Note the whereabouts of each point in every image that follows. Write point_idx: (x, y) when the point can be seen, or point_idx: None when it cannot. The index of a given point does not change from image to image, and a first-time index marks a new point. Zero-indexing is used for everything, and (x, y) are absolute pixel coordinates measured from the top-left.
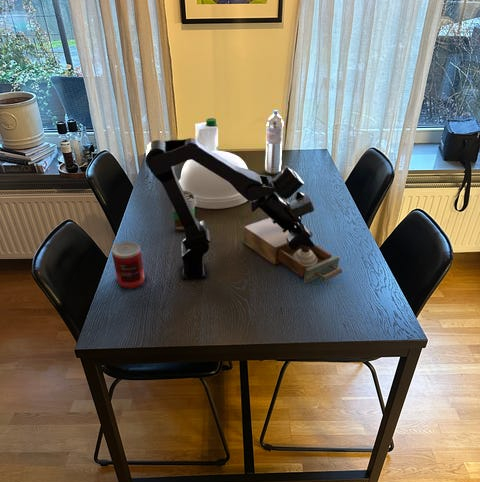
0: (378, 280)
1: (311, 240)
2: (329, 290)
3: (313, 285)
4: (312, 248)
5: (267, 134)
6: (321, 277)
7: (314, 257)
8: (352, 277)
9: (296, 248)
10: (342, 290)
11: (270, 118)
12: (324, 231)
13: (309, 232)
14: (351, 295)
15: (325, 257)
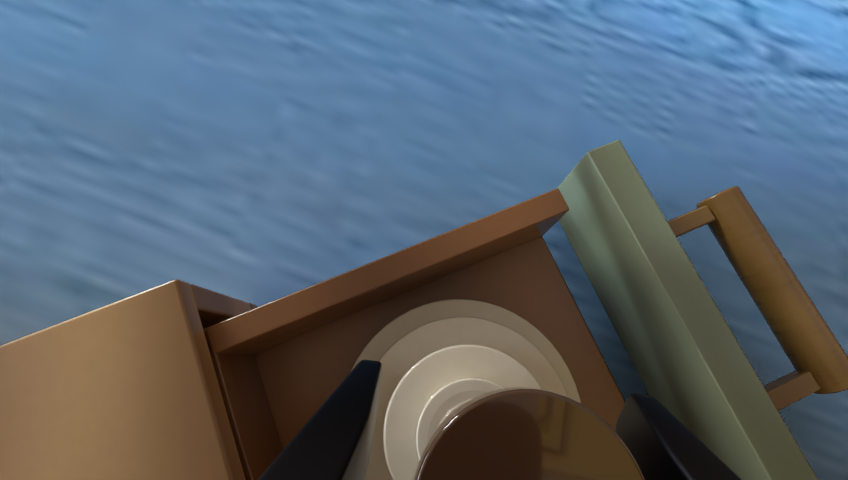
0: (684, 10)
1: (694, 469)
2: None
3: None
4: (358, 303)
5: None
6: (820, 393)
7: (507, 339)
8: (641, 131)
9: (272, 438)
10: (779, 246)
11: None
12: (47, 84)
13: (501, 449)
14: (832, 213)
15: (516, 240)
